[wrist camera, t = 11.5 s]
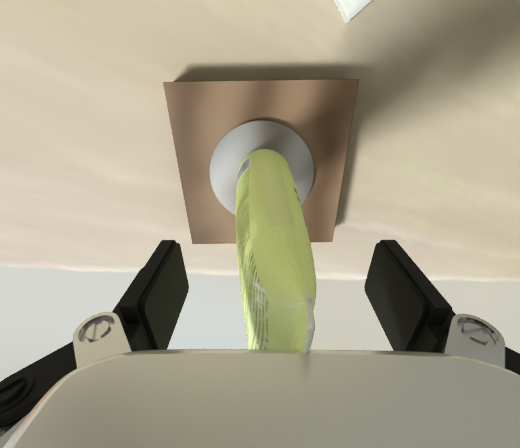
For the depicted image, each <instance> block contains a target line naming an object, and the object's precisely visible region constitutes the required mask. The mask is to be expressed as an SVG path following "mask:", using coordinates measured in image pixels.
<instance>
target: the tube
mask: <svg viewBox="0 0 520 448" xmlns="http://www.w3.org/2000/svg"><path fill="white" fill-rule="evenodd" d="M236 243H237V255H238V266H239V275H240V283H241V291H242V300H243V309H244V317H245V325H246V332H247V339H248V347H249V349H283V350H300V351H301V352H303V353H309V350H310V347H311V343H312V340H313V335H314V330H315V322H314V315H313V309H314V304H315V298H316V276H315V268H314V260H313V255H312V250H311V244H310V239H309V233H308V228H307V224H306V220H305V215H304V212H303V208H302V205H301V201H300V198H299V194H298V191H297V188H296V185H295V182H294V179H293V176H292V173H291V170H290V168H289V165H288V163H287V161H286V160H285V158H284V157H283V156H282V155H281V154H279V153H278V152H276V151H273V150H270V149H259V150H256V151H253V152H251V153H250V154H248V155H247V156H246V157H245V158H244V159H243V161H242V162H241V164H240V167H239V171H238V179H237V190H236Z"/></svg>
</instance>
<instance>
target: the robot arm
mask: <svg viewBox="0 0 520 448" xmlns="http://www.w3.org/2000/svg"><path fill="white" fill-rule="evenodd" d="M188 289H189V285H188V280H187V276H186V271H185V266H184V261H183V257H182V252H181V247H180V244H179V243H176V241H175V240H162V241H161V242H160V244H159V245H158V247H157V248H156V250H155V251H154V253H153V254H152V256H151V257H150V259H149V260H148V262H147V263H146V265H145V267H144V268H142V269H141V270H140V271H139V273H138V274H137V276H136V277H135V279H134V280H133V282H132V283H131V285H130V286H129V288H128V289H127V291H126V292H125V294H124V295H123V297H122V298H121V300H120V301H119V303H118V304H117V305H116V307H115V308H114V310H113V312H103V313H99V314H96V315H93V316H92V317H90V318H88V319H86V320H85V321H84V322H83V323H81V324H80V325H79V327H78V328H77V329H76V331H75V333H74V335H73V342H71V343H69V344H67V345H65V346H64V347H62V348H60V349H58V350H57V351H54V352H53V353H51V354H49V355H47V356H45V357H43V358H42V359H40V360H38V361H36V362H34V363H32V364H31V365H29V366H27V367H25V368H23V369H22V370H20V371H18V372H16V373H14V374H12V375H10V376H9V377H7V378H6V379H4V380H3V381H1V382H0V448H520V354H519V353H517V352H515V351H513V350H511V349H509V348H507V347H505V342H504V338H503V336H502V335H501V334H500V332H499V331H498V330H497V329H496V328H494V327H493V326H492V325H490V324H489V323H488V322H486V321H484V320H482V319H480V318H478V317H475V316H473V315H468V314H457V315H456V314H455V313H454V312H453V311H452V307H451V306H450V305H449V303H448V302H447V301H446V300H445V299H444V297H442V295H441V294H440V293H439V292H438V290H437V289H436V288H435V287H434V286H433V284H431V282H430V281H429V280H428V278H427V277H426V276H425V275H424V274H423V272H422V271H421V270H420V269H419V268H418V266H417V265H416V264H415V263H414V262H413V260H412V259H411V258H410V257H409V256H408V255H407V253H406V252H405V251H404V250H403V249H402V247H401V246H400V245H399V244H398V243H397V241H395V240H381V241H380V243H377V244H376V246H375V250H374V253H373V257H372V261H371V264H370V268H369V271H368V275H367V279H366V282H365V292H366V295H367V296H368V299H369V300H370V303H371V305H372V307H373V309H374V311H375V313H376V315H377V317H378V319H379V321H380V324H381V325H382V328H383V330H384V332H385V334H386V336H387V338H388V340H389V342H390V344H391V346H392V348H393V350H394V351H368V350H366V351H365V350H309V353H303V352H301V351H300V350H283V349H175V350H174V349H173V350H172V349H169V350H167V347H168V344H169V342H170V339H171V336H172V334H173V331H174V328H175V326H176V323H177V320H178V317H179V314H180V312H181V309H182V307H183V304H184V301H185V299H186V296H187V293H188Z"/></svg>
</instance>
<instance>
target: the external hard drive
mask: <svg viewBox="0 0 520 448" xmlns="http://www.w3.org/2000/svg"><path fill="white" fill-rule="evenodd" d="M370 1H371V0H334V2H335V4H336V6H337V8H338V10H339V12H340V14H341V15H342V17H343V19H344V21H345V23H347V22H348V21H350V20H351V19H352V18H353V17H354V16H355V15H356V14H357V13H358V12H359V11H361V10H362V9H363V8H364V7H365V6H366V5H367V4H368V3H369V2H370Z"/></svg>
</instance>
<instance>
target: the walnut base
mask: <svg viewBox="0 0 520 448" xmlns="http://www.w3.org/2000/svg"><path fill="white" fill-rule="evenodd" d="M358 80H359V79H337V80H269V81H200V82H163V84H164V90H165V95H166V101H167V106H168V112H169V117H170V123H171V128H172V134H173V139H174V145H175V150H176V156H177V161H178V167H179V172H180V178H181V183H182V189H183V194H184V200H185V205H186V211H187V216H188V222H189V227H190V233H191V238H192V244H225V243H236V190H237V179H238V171H239V167H240V164H241V162H242V161H243V159H244V158H245V157H246V156H247V155H248V154H250V153H251V152H253V151H256V150H259V149H270V150H273V151H276V152H278V153H279V154H281V155H282V156H283V157H284V158H285V160H286V161H287V163H288V165H289V168H290V170H291V173H292V176H293V179H294V182H295V185H296V188H297V191H298V194H299V198H300V201H301V205H302V208H303V212H304V215H305V220H306V224H307V228H308V233H309V239H310V242H332V241H333V234H334V228H335V222H336V216H337V210H338V204H339V197H340V191H341V185H342V179H343V173H344V167H345V161H346V154H347V148H348V142H349V136H350V130H351V124H352V117H353V111H354V105H355V99H356V93H357V87H358Z"/></svg>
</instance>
